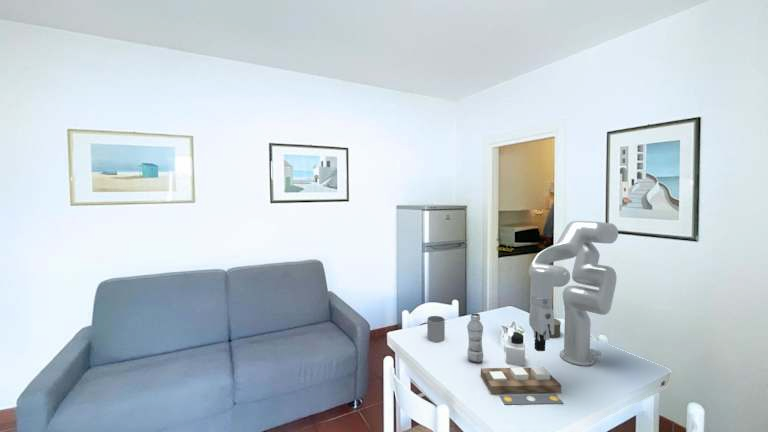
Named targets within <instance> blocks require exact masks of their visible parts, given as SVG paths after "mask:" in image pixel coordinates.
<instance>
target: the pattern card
mask: <svg viewBox="0 0 768 432" xmlns="http://www.w3.org/2000/svg"><path fill="white" fill-rule="evenodd" d="M498 395H499V399H500V400H501V401H502V402H503V405H504V406H515V405H517V406H519V405H520V406H521V405H527V406H528V405H563V404H564V401H562V400H561V398H560V397H559V396H558V394H557V393H549V394H498Z"/></svg>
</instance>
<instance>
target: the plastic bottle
mask: <svg viewBox="0 0 768 432" xmlns="http://www.w3.org/2000/svg"><path fill="white" fill-rule="evenodd" d="M480 315H481V314H480V313H477V312H473V313H471V314H470V320H469V322H468V323H467V325H466V326H467V327H466V328H467V336H468V347H467V351H466V354H467V358H468V359H469V361H470V362H474V363H481V362H482V361H483V359H484V351H483V340H482V339H483V333H484V326H483V324H482V321H480V320H481V316H480Z"/></svg>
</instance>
